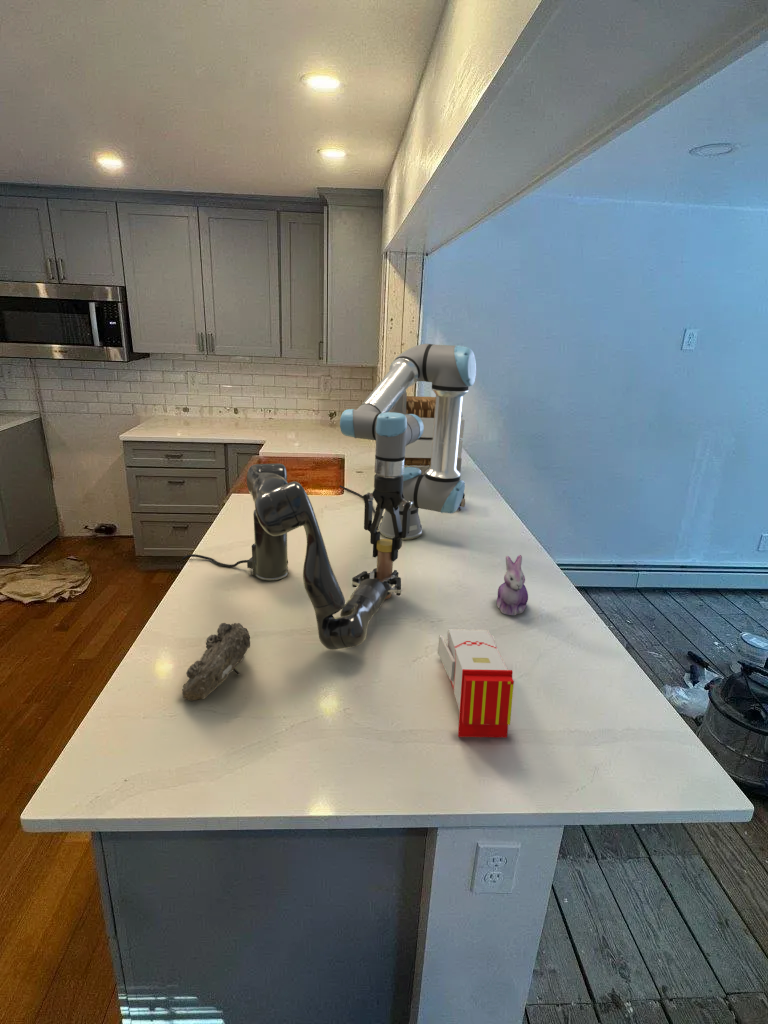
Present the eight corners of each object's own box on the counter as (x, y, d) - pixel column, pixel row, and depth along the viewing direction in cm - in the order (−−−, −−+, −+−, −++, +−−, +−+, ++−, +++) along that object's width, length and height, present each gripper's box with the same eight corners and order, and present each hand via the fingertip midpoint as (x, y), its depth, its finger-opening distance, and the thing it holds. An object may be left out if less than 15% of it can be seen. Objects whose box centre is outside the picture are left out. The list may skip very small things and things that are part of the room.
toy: (488, 613, 130) (523, 677, 101) (484, 667, 133) (517, 744, 104) (435, 612, 130) (455, 676, 101) (432, 666, 133) (451, 743, 103)
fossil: (203, 625, 130) (250, 595, 125) (232, 653, 133) (279, 625, 128) (160, 694, 111) (214, 662, 106) (195, 725, 113) (249, 695, 108)
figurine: (510, 620, 147) (517, 567, 142) (486, 602, 155) (492, 552, 150) (538, 612, 151) (545, 561, 146) (513, 595, 159) (519, 546, 154)
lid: (372, 549, 151) (373, 543, 150) (382, 543, 155) (382, 537, 154) (388, 554, 149) (389, 547, 148) (398, 547, 153) (398, 541, 152)
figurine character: (465, 515, 224) (460, 499, 237) (467, 498, 221) (462, 483, 234) (448, 515, 224) (444, 499, 237) (450, 498, 220) (445, 482, 234)
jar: (372, 596, 156) (374, 544, 151) (380, 590, 159) (382, 539, 154) (386, 600, 154) (388, 548, 149) (394, 594, 157) (396, 543, 152)
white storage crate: (382, 463, 289) (386, 382, 275) (445, 464, 293) (451, 384, 279) (390, 482, 257) (394, 392, 243) (460, 483, 261) (468, 394, 247)
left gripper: (394, 591, 138) (412, 563, 154) (340, 580, 142) (363, 554, 158) (393, 617, 141) (411, 588, 156) (340, 607, 145) (362, 579, 160)
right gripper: (426, 476, 145) (420, 559, 153) (364, 466, 151) (361, 546, 159) (416, 483, 138) (410, 570, 146) (351, 472, 145) (349, 555, 153)
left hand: (387, 571), depth 157 cm, fingers closed on jar, 4 cm apart
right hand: (385, 557), depth 153 cm, fingers closed on lid, 5 cm apart
